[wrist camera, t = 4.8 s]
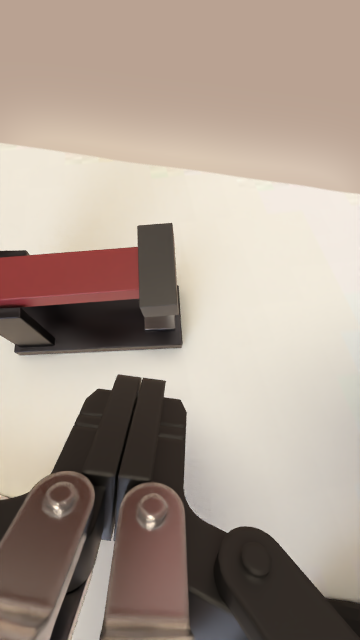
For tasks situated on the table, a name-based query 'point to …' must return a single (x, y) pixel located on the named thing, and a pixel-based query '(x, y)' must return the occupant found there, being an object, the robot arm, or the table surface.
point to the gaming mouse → (348, 613)
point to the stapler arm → (97, 275)
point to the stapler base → (87, 326)
